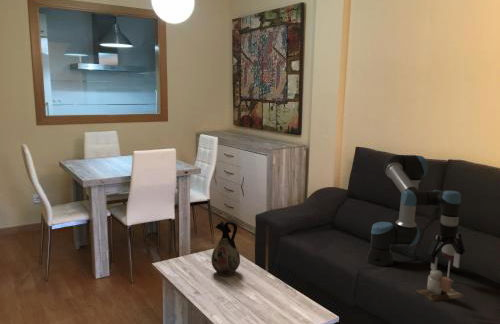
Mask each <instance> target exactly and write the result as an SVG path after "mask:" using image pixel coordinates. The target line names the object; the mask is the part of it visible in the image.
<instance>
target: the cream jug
mask: <svg viewBox="0 0 500 324" xmlns="http://www.w3.org/2000/svg"><path fill="white" fill-rule="evenodd" d="M429 273H430V274H429V275H428V276H427V285H426V288H427V291H428V292H429V293H431V294H433V297H434V296H440V295H441V294H442V289H443V290H445V291H447V292H448V291H450V290H451V289H452V282H453V280H452V279H451V278H450V277H449V278H447V276H443V272H442V271H441V270H440V269H439V270H438V269H436V271H434V270H432V269H431V270H430V272H429Z"/></svg>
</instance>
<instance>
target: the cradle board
mask: <svg viewBox="0 0 500 324" xmlns="http://www.w3.org/2000/svg"><path fill="white" fill-rule="evenodd" d="M414 291H415V292H417V293H418V294H420V295H421V296H423V297H424V298H427V299H428V300H430V301H431V302H433V303H436V302H442V301H448V300H453V299H458V298H459V299H460V298H465V297H467V296H466V295H465V294H462V293H460V292H459V291H457V290H455V289H454V288H451V290H450V291H448V292H447V291H445V290H443V289H442V294H441V295H440V296H434V297H433V294H431V293H429V292H428V291H427V287H426V288H417V289H414Z"/></svg>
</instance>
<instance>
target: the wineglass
mask: <svg viewBox="0 0 500 324" xmlns="http://www.w3.org/2000/svg"><path fill="white" fill-rule="evenodd" d="M454 253H457V252H456V251H455V249H454V248H453V246H452V245H451V244H448V245H445V246H443V248H442V249H441V254H442V256H443V257H444V258H445V259H447V260H448V266H447V274H446V275H447V276H446V277H447V278H449V279H450V269H451V262H452V260H453V261H454Z"/></svg>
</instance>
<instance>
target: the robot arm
mask: <svg viewBox="0 0 500 324" xmlns="http://www.w3.org/2000/svg"><path fill="white" fill-rule="evenodd" d="M428 170H429V169H428V163H427V160H426V158H425V157H424V156H423V155H416V154H393V155H391V156H390V157H388V158H387V159H386V160H385V162H384V164H383V171H384V174H385V175H386V176H387V177H388V178H389V179H391V180H392V182H393V183H394V185H395V186H396V187H397V189H398V190H399V192H400V193H401V196H400V203H399V204H400V206H399V212H398V213H399V214H398V219H397V220H396V221H395V223H394V225H393V223H392V222H389V221H378V222H375V223H373V224H372V226H371V231H370V234H371V235H370V247H369V250H368V253H367V254H366V261H367V262H368V263H370V264H371V265H373V266H374V265H375V266H379V267H387V266H388V267H389V266H392V265H393V264H394V258H393V254H392V253H393V252H392V246H406V247H410V246H411V247H412V246H415V245H417V243H418V242H419V240H420V235H421V233H420V228H419V226H417V223H416V222H415V219H416V218H415V217H416V210H417V209H416V208H417V207H430V208H432V207H433V208H440V209H441V212H440V224H439V232H440V235H438V234H434V237H433V241H432V243H431V244H430V247H429V249H428V251H427V253H426V254H427V255H428V256H430V269H431V270H434V271H436V270H438V255H439V254H440V252H441V251H442V248H443V246H445V245H448V244H451V245H452V246H453V248H454V249H455V251H456V252H457V253H454V259H453V264H452V266H453V267H454V268H457V269H459V268H460V261H461V258H462V255H464V253H465V252H466V250H465V246H464V242H463V240H462V234H461V233H458V231H459V226H458V225H459V221H460V220H459V219H460V212H461V210H460V209H461V203H462V197H461V196H462V194H461V193H460V192H459V191H456V190H444V191H443V190H441V189H434V190H419V184H420V182H421V181H423V177H425V176H427V174H428Z"/></svg>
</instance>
